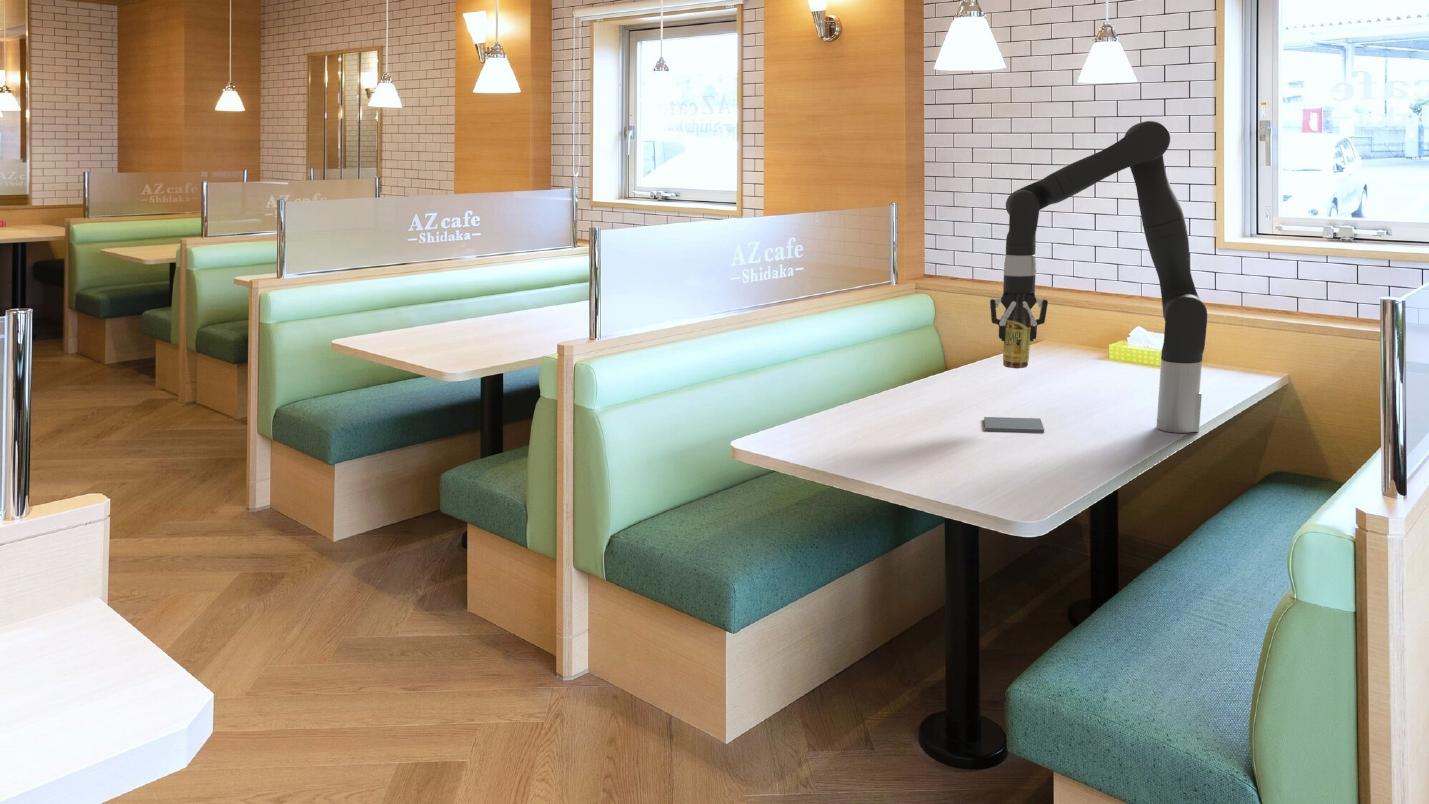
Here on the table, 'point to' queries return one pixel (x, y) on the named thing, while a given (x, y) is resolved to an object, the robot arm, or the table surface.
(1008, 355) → the sauce bottle
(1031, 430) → the placemat
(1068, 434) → the table surface
